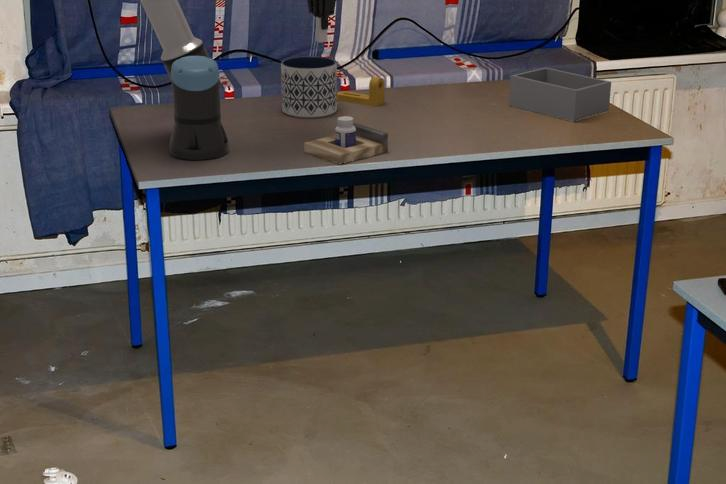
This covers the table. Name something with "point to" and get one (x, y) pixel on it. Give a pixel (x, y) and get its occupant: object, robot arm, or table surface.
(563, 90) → the open gray rectangular box
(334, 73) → the planter
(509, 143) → the table surface
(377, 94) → the bracket
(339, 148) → the jig
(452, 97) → the table surface
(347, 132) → the pill bottle
